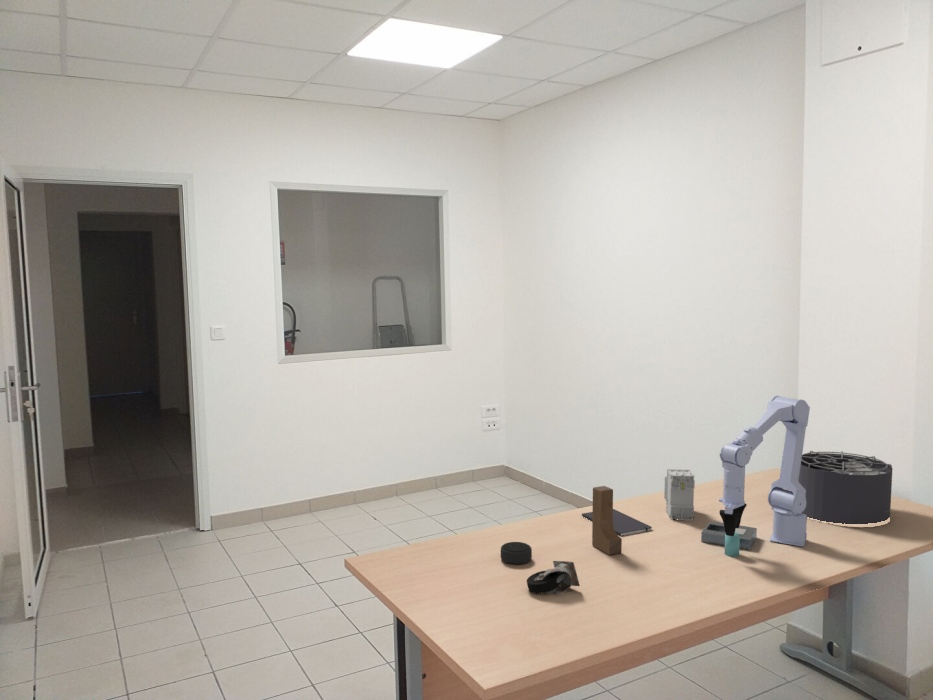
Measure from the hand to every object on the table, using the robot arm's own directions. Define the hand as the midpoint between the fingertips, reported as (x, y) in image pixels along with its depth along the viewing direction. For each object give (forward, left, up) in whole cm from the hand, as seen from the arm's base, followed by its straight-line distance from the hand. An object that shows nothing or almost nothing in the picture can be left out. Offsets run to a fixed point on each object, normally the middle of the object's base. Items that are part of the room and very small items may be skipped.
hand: (732, 531), depth 213 cm
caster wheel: (+36, +49, -7) cm, 61 cm away
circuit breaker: (+23, -30, -7) cm, 38 cm away
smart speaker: (+53, +34, -7) cm, 63 cm away
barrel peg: (0, 0, -7) cm, 7 cm away
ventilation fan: (-25, -57, -7) cm, 63 cm away
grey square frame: (+3, -12, -7) cm, 14 cm away
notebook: (+38, -10, -8) cm, 40 cm away
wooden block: (+33, +14, -7) cm, 37 cm away
